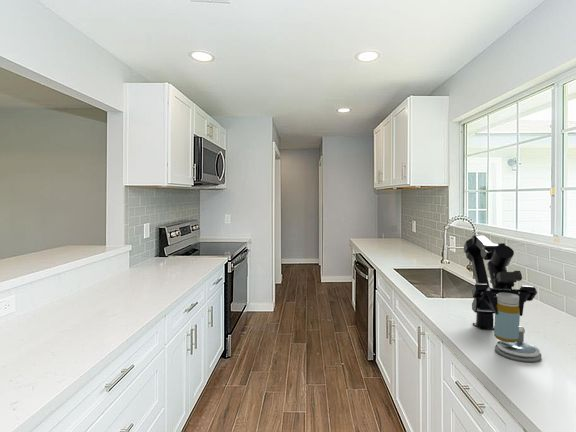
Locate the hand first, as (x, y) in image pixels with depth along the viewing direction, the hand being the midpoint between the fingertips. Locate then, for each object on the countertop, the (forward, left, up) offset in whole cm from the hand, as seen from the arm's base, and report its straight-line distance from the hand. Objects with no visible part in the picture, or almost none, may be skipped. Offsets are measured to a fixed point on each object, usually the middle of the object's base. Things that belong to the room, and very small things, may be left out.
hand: (509, 314), depth 119 cm
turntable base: (0, +3, -13) cm, 14 cm away
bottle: (-1, 0, -9) cm, 9 cm away
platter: (0, +3, -12) cm, 13 cm away
